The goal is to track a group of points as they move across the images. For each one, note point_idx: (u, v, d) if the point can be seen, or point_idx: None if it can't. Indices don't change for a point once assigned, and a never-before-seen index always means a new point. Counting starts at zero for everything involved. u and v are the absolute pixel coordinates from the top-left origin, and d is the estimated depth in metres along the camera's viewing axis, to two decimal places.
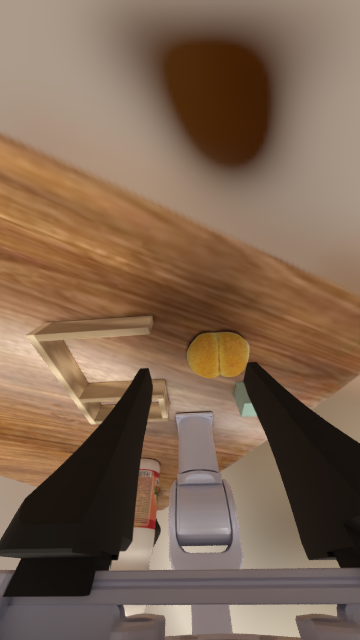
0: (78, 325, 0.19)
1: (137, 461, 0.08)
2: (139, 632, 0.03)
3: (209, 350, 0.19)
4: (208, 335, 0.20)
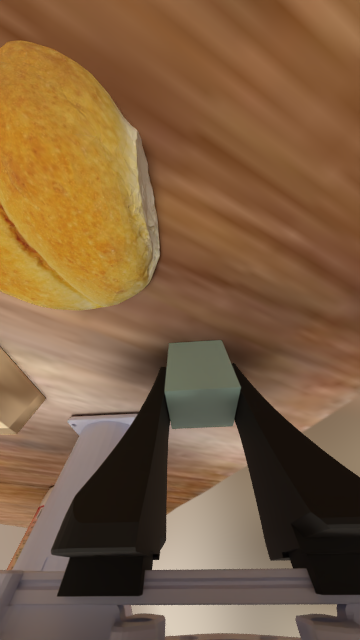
0: None
1: (165, 460, 0.08)
2: (139, 632, 0.03)
3: None
4: None
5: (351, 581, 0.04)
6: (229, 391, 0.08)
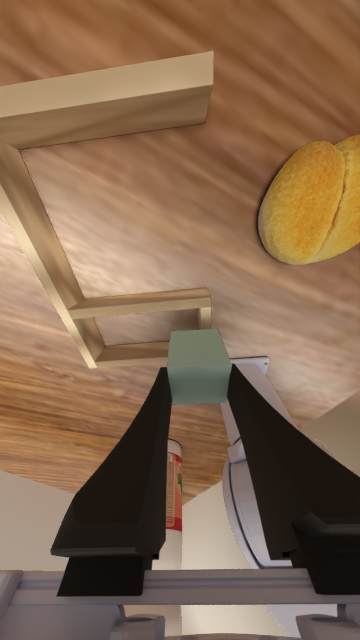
0: None
1: (165, 460, 0.08)
2: (139, 632, 0.03)
3: (330, 155, 0.09)
4: (318, 141, 0.10)
5: (351, 581, 0.04)
6: (222, 368, 0.09)
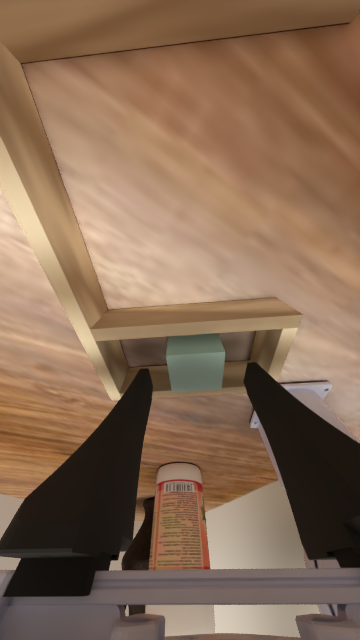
0: None
1: (137, 461, 0.08)
2: (139, 632, 0.03)
3: None
4: None
5: None
6: (216, 355, 0.10)
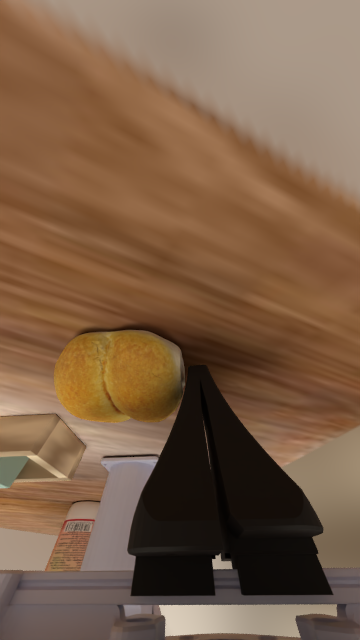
0: None
1: None
2: (139, 632, 0.03)
3: (76, 374, 0.08)
4: (85, 337, 0.09)
5: (274, 582, 0.04)
6: None
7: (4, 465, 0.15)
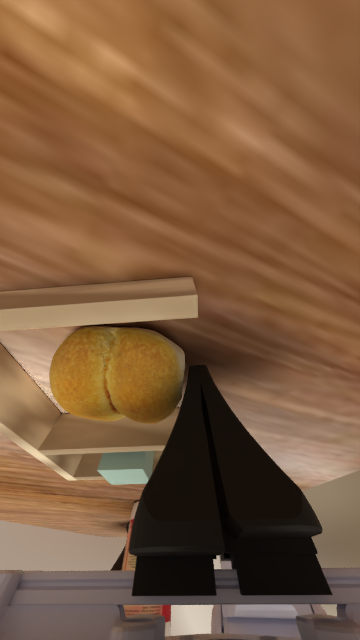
0: (7, 297, 0.07)
1: None
2: (139, 632, 0.03)
3: (76, 369, 0.08)
4: (89, 331, 0.09)
5: (273, 582, 0.04)
6: (136, 470, 0.13)
7: (148, 460, 0.14)
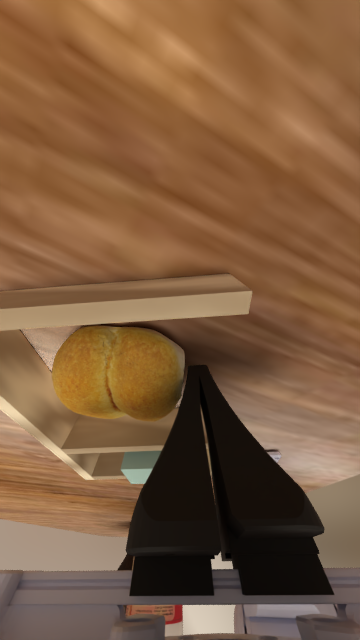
0: (47, 294, 0.07)
1: None
2: (139, 632, 0.03)
3: (79, 366, 0.08)
4: (92, 330, 0.09)
5: (275, 582, 0.04)
6: None
7: None
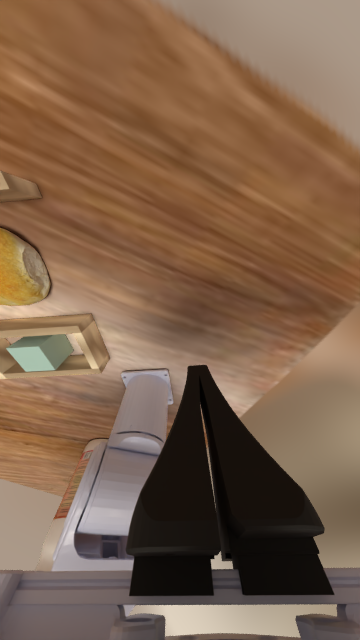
0: None
1: None
2: (139, 632, 0.03)
3: None
4: None
5: (275, 582, 0.04)
6: (35, 348, 0.17)
7: (52, 351, 0.19)
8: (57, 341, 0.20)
